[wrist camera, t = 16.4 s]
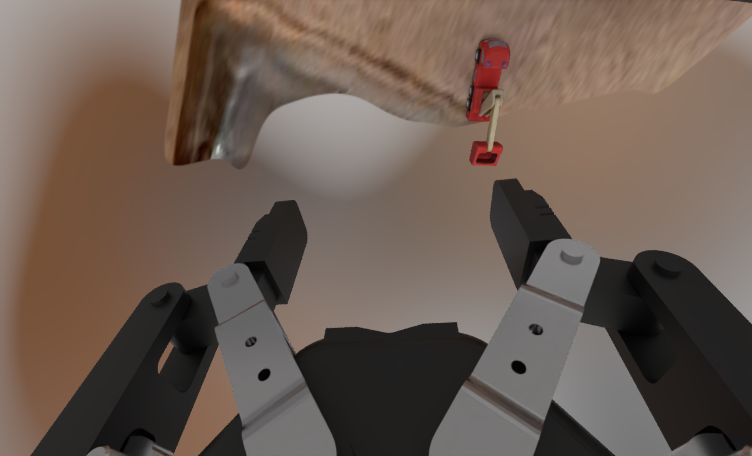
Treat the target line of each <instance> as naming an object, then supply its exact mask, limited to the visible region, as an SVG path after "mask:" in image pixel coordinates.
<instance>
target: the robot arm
mask: <svg viewBox="0 0 752 456" xmlns="http://www.w3.org/2000/svg"><path fill="white" fill-rule="evenodd" d="M731 1H741V2H748V3H752V0H731ZM490 221H491V227H492V230H493V232H494V235H495V237H496V239H497V242H498V244H499V247H500V249H501V252H502V254H503V257H504V259H505V261H506V264H507V266H508V269H509V271H510V273H511V276H512V278H513V281H514V283H515V286H516V288H517V291H518V292H517V294H516V295H515V297H514V299H513V301H512V303H511V304H510V306H509V308H508V310H507V311H506V313H505V315H504V317H503V319H502V321H501V323H500V324H499V326H498V328H497V330H496V331H495V333H494V335H493V337H492V339H491V340H490V342H489V344H487V343H486V342H484V341H482V340H480V339H478V338H476V337H473V336H470V335H467V334H463V333H459V332H458V327H457V322H452V323H451V322H450V323H429V324H421V325H418V326H414V327H410V328H407V329H404V330H400V331H396V332H393V333H384V332H380V331H375V330H370V329H364V328H360V327H344V328H326V330H325V336H324V339H321V340H319V341H316V342H314V343H312V344H310V345H308V346H306V347H305V348H304V349H302V350H300V351H299V352H298V353H297V354H296V352H295V351H294V348H293V347H292V345H291V343H290V341H289V339H288V337H287V335H286V333H285V331H284V330H283V328H282V326H281V324H280V322H279V320H278V318H277V316H276V315H275V313H274V309H275V306H276V305H278V304H288V300H289V297H290V294H291V291H292V288H293V285H294V281H295V278H296V275H297V272H298V269H299V266H300V263H301V260H302V256H303V253H304V250H305V247H306V244H307V230H306V227H305V224H304V221H303V219H302V216H301V213H300V210H299V208H298V205H297V203H296V201H294V200H288V201H279V202H275V204H274V206H273V207H272V209H271V211H270V213H269V214H266V215H264V216H263V217H262V218H261V219H260V220H259V221H258V222H257V223H256V224H255V226H254V228H253V230H252V233H250V235H249V237H248V240H247V241H246V243H245V244H244V246H243V248H242V250H241V252H240V253H239V255H238V257H237V259H236V260H235V262H234V264H231V265H228V266H225V267H223V268H222V269H220V270H218V271H217V272H216V273H215V274H214V275H213V276H212V277H211V278H210V280H209V282H208V284H207V285H204V286H201V287H198V288H195V289H192V290H188V291H186V290H185V289H184V287H183V286H182V285H181V284H179V283H175V282H174V283H167V284H164V285H162V286H159V287H157V288H155V289H154V290H152V291H151V292H150V293H148V294H147V295H146V296H145V297H144V298H143V299H142V300H141V302H140V303H139V305H138V306H137V307H136V309H135V310H134V312H133V313H132V314H131V316H130V317H129V319H128V320H127V322H126V323H125V324H124V326H123V327H122V328H121V330H120V331H119V333H118V334H117V335H116V337H115V338H114V340H113V341H112V342H111V344H110V345H109V347H108V348H107V349H106V351H105V352H104V354H103V355H102V356H101V358H100V359H99V361H98V362H97V363H96V365H95V366H94V368H93V369H92V371H91V372H90V373H89V375H88V376H87V377H86V379H85V380H84V382H83V383H82V384H81V386H80V387H79V389H78V390H77V391H76V393H75V394H74V396H73V397H72V398H71V400H70V401H69V403H68V404H67V406H66V407H65V408H64V410H63V411H62V412H61V414H60V415H59V417H58V418H57V419H56V421H55V422H54V424H53V425H52V426H51V428H50V429H49V431H48V432H47V434H46V435H45V436H44V438H43V439H42V440H41V442H40V443H39V445H38V446H37V447H36V449H35V450H34V452H33V453H32V454H31V456H174V452H175V449H176V447H177V445H178V442H179V440H180V437H181V435H182V432H183V430H184V428H185V425H186V423H187V420H188V418H189V415H190V413H191V411H192V408H193V406H194V403H195V401H196V398H197V396H198V393H199V391H200V389H201V386H202V384H203V381H204V379H205V377H206V374H207V372H208V369H209V367H210V364H211V362H212V360H213V357H214V355H215V352H216V350H217V347H218V345H219V347H220V350H221V353H222V356H223V360H224V364H225V367H226V370H227V373H228V377H229V380H230V384H231V387H232V390H233V394H234V397H235V400H236V404H237V407H238V411H239V413H238V414H237V416H235V417H234V419H233V420H232V421H231V422H230V423H229V424H228V425H227V426H226V427H225V428H224V429H223V430H222V431H221V432H220V433H219V434H218V435H217V436H216V437H215V438H214V440H213V441H212V442H211V443H210V444H209V445H208V446H207V447H206V448H205V449H204V450H203V451H202V452H201V453H200V454H199V455H198V456H615V455H614V454H613V453H612V452H610V451H609V450H608V449H607V448H606V447H605V446H604V445H603V444H602V443H600V442H599V441H598V440H597V439H596V438H595V437H594V436H593V435H591V434H590V433H589V432H588V431H587V430H586V429H585V428H584V427H583V426H582V425H580V424H579V423H578V422H577V421H576V420H575V419H574V418H573V417H572V416H570V415H569V414H568V413H567V412H566V411H565V410H564V409H563V408H561V407H560V406H559V405H558V404H557V403H556V402H555V401H554V400H553V399H552V398H553V395H554V392H555V390H556V387H557V384H558V381H559V379H560V376H561V373H562V370H563V368H564V365H565V362H566V359H567V356H568V354H569V351H570V348H571V345H572V343H573V340H574V336H575V334H576V331H577V328H578V326H579V323H580V322H582V323H587V324H591V325H596V326H600V327H605V329H606V330H607V332H608V334H609V336H610V338H611V340H612V341H613V343H614V345H615V347H616V349H617V351H618V352H619V354H620V356H621V358H622V360H623V362H624V363H625V365H626V367H627V369H628V371H629V373H630V375H631V377H632V378H633V380H634V382H635V384H636V386H637V388H638V389H639V391H640V393H641V395H642V397H643V399H644V400H645V402H646V404H647V406H648V408H649V410H650V412H651V413H652V415H653V417H654V419H655V421H656V423H657V425H658V426H659V428H660V430H661V432H662V434H663V436H664V437H665V439H666V441H667V443H668V445H669V447H670V448H671V450H672V452H671V453H669V454H668V455H667V456H752V324H751V323H750V322H749V321H748V320H747V319H746V318H745V317H744V316H743V315H742V314H741V313H740V312H739V311H738V310H737V309H736V308H735V307H734V306H733V304H732V303H730V301H729V300H728V299H727V298H726V297H725V296H724V295H723V294H722V293H721V292H720V291H719V290H718V289H717V288H716V287H715V286H714V285H713V284H712V283H711V282H710V281H709V280H708V279H707V278H706V277H705V276H704V274H703V273H701V271H700V270H699V269H698V268H697V267H696V266H694V265H693V264H692V263H691V262H689V261H688V260H686V259H684V258H682V257H680V256H678V255H675V254H672V253H669V252H664V251H657V250H648V251H643V252H641V253H639V254H637V256H636V257H635V259H634V260H633V262H629V261H622V260H614V259H608V258H602V257H599V254H598V253H597V252H596V251H595V250H594V249H593V248H592V247H591V246H589V245H587V244H585V243H583V242H580V241H577V240H573V239H572V238H571V236H570V235H569V234H568V232H567V231H566V229H565V228H564V227H563V225H562V224H561V222H560V221H559V219H558V218H557V217H556V215H554V212H553V211H552V209H551V208H549V205H548V204H547V203H546V201H545V199H544V198H543V197H542V196H540V195H538V194H537V193H536V192H534V191H533V190H525V191H524V189H523V188H522V186H521V184H520V183H519V181H518V180H517V179H505V180H496V181H495V182H494V185H493V194H492V202H491V211H490ZM169 342H170V343H171V344H173V345H174V347H173V349H172V351H171V353H170V355H169V357H168V359H167V360H166V362H165V364H164V366H163V368H162V370H161V371H160V373H159V374H158V362H159V360H160V358H161V356H162V354H163V352H164V350H165V349H166V347H167V345H168V343H169Z"/></svg>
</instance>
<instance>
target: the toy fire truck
mask: <svg viewBox="0 0 752 456" xmlns="http://www.w3.org/2000/svg"><path fill="white" fill-rule="evenodd" d="M479 48H480V49H479V50H477V51H476V55H475V60H476V62H477V63H476V67H475V71H474V77H473V86H471V87H470V90H469V96H470V97H472V96H473V98H472V99H468V100H467V109H470V110H467V114H466V116H467V118H468V120H469V121H489V128H488V134H487V141H486V142H484V141H482V142H481V141H474V142H473V145H472V150H471V154H470V159H469V160H470V162H471V164H472V165H489V166H496V164H497V162H498V160H499V157H500V155H501V153H502V150H503V146H502V145H501V144H500V143H498V142H494V135H495V129H496V124H497V118H498V112H499V108H500V107H501V106H502V104H503V90H499V89H498V88H497V87H498V83H499V79H500V74H501V70H502V69H507V67H508V63H509V59H510V49H509V46H508V44H506V43H505V42H503V41H500V40H497V39H486V40H483V41H481V42H480V44H479Z"/></svg>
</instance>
